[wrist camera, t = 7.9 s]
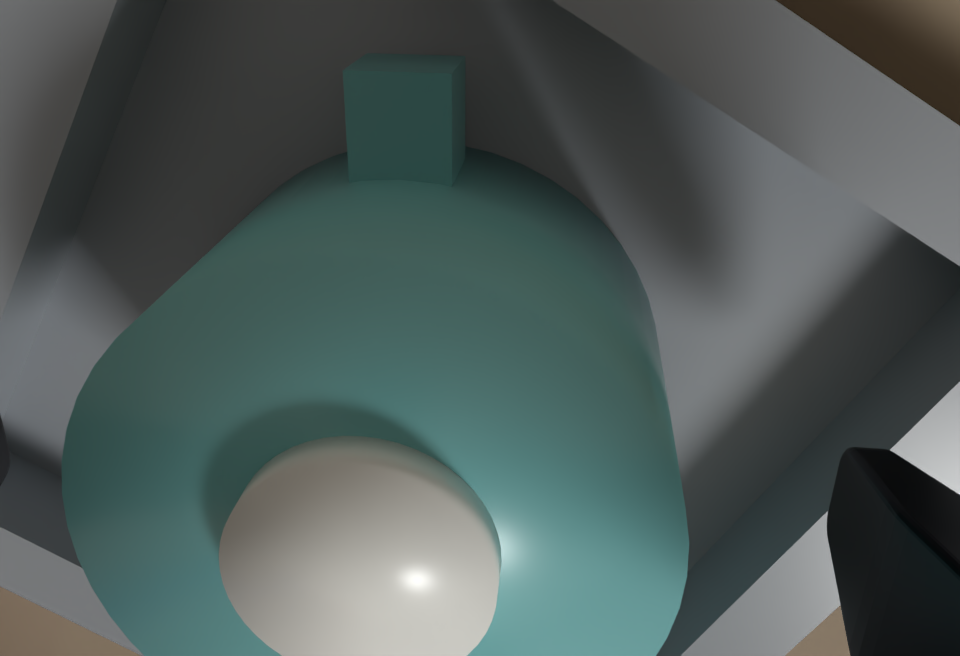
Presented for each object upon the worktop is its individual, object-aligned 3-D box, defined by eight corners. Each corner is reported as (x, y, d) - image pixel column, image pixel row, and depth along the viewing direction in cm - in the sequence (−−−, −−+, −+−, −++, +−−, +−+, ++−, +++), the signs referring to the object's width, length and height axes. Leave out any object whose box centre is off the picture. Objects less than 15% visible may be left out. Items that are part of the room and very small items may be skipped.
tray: (1094, 223, 10) (1194, 285, 8) (562, 754, 15) (558, 859, 13) (218, -373, 8) (131, -439, 7) (-64, 434, 13) (-156, 510, 11)
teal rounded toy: (636, 559, 12) (658, 831, 8) (236, 526, 12) (100, 771, 9) (694, 54, 9) (761, 151, 6) (168, 39, 10) (-71, 120, 6)
